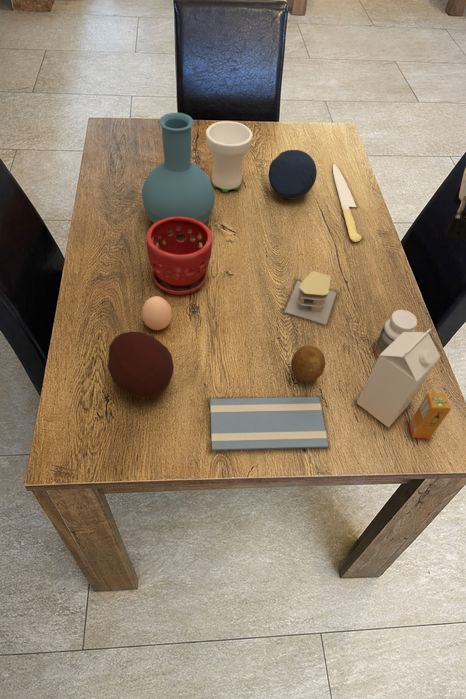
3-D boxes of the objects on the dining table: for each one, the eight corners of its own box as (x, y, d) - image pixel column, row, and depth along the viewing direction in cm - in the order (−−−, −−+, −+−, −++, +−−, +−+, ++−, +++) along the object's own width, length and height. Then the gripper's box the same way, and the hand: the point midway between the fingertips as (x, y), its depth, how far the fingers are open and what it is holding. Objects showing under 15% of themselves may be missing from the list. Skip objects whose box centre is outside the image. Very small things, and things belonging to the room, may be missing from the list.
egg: (144, 338, 99) (141, 312, 93) (142, 316, 102) (138, 290, 96) (174, 334, 100) (172, 309, 94) (170, 313, 103) (169, 287, 97)
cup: (198, 176, 132) (199, 124, 121) (237, 168, 136) (241, 117, 124) (214, 201, 126) (216, 149, 115) (254, 192, 129) (260, 141, 118)
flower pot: (211, 300, 106) (213, 257, 96) (148, 300, 105) (144, 257, 95) (210, 257, 114) (211, 214, 104) (151, 257, 113) (147, 213, 103)
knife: (344, 162, 139) (329, 159, 138) (369, 241, 119) (351, 238, 118) (342, 167, 140) (327, 163, 139) (366, 245, 120) (349, 242, 119)
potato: (134, 422, 87) (128, 390, 79) (99, 370, 93) (89, 335, 85) (188, 392, 92) (187, 358, 83) (151, 344, 98) (147, 309, 90)
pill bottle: (388, 336, 103) (404, 303, 95) (408, 354, 100) (427, 322, 92) (368, 347, 101) (382, 315, 93) (388, 367, 98) (405, 335, 90)
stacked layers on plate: (297, 280, 111) (301, 262, 106) (336, 292, 109) (342, 274, 105) (284, 312, 105) (288, 294, 101) (326, 324, 104) (331, 307, 99)
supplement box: (425, 422, 91) (447, 392, 83) (429, 439, 89) (452, 410, 81) (407, 421, 91) (427, 391, 83) (411, 438, 89) (432, 409, 81)
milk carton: (355, 403, 92) (386, 339, 77) (377, 381, 96) (411, 315, 81) (387, 428, 90) (426, 367, 74) (409, 404, 93) (450, 341, 78)
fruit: (306, 357, 98) (313, 332, 92) (327, 380, 95) (336, 355, 89) (281, 372, 96) (287, 346, 89) (302, 395, 93) (310, 370, 86)
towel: (318, 398, 93) (319, 396, 92) (327, 447, 87) (328, 446, 86) (210, 400, 91) (210, 398, 90) (211, 450, 85) (211, 449, 84)
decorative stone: (271, 176, 134) (276, 141, 126) (315, 185, 133) (323, 151, 125) (261, 201, 127) (265, 166, 119) (307, 212, 126) (315, 177, 118)
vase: (136, 207, 123) (124, 106, 103) (199, 194, 128) (200, 95, 108) (157, 251, 114) (149, 149, 94) (224, 235, 119) (230, 135, 99)
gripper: (535, 158, 63) (476, 260, 77) (538, 98, 73) (485, 198, 87) (474, 143, 65) (427, 246, 78) (485, 87, 75) (441, 186, 88)
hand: (457, 220), depth 83 cm, fingers open, 9 cm apart
